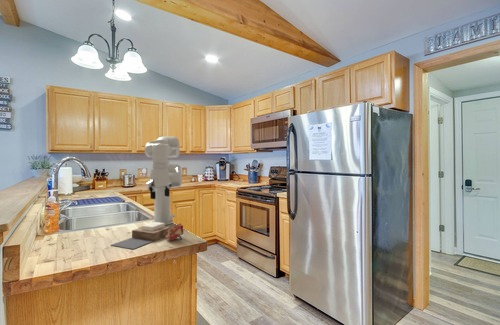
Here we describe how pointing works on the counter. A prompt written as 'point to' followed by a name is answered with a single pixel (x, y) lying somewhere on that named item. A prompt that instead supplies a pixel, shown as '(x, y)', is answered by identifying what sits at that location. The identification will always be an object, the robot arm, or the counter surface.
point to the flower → (175, 232)
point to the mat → (132, 243)
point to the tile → (153, 226)
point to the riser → (150, 234)
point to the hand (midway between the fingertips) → (160, 197)
